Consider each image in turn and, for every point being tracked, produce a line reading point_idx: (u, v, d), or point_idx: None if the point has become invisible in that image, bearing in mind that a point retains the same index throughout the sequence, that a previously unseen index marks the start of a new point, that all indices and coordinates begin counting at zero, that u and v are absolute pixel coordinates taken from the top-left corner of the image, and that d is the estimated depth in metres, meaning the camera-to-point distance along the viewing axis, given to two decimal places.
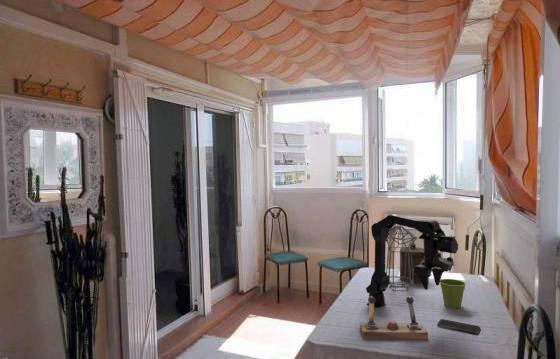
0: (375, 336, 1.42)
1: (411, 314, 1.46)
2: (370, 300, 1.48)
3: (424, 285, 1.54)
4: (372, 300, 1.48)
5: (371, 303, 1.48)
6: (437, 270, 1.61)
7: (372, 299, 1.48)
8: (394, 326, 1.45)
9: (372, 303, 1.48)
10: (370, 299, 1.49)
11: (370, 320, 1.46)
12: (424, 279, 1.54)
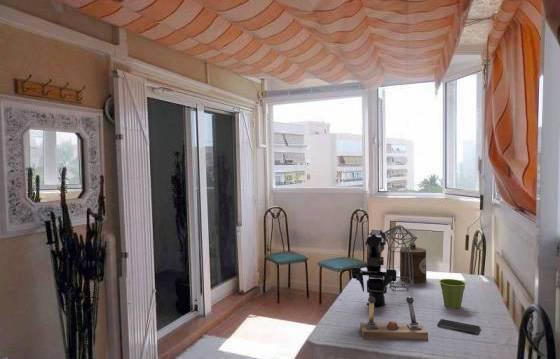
0: (375, 336, 1.42)
1: (411, 314, 1.46)
2: (370, 300, 1.48)
3: None
4: (372, 300, 1.48)
5: (371, 303, 1.48)
6: None
7: (372, 299, 1.48)
8: (394, 326, 1.45)
9: (372, 303, 1.48)
10: (370, 299, 1.49)
11: (370, 320, 1.46)
12: (361, 281, 1.60)
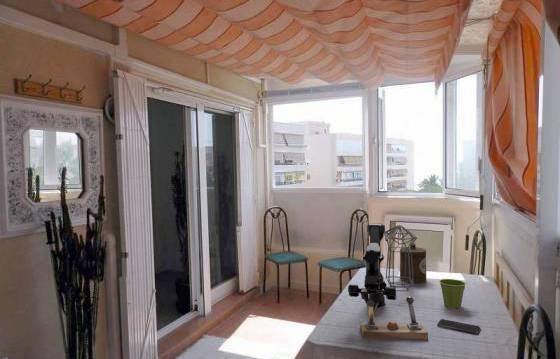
0: (375, 336, 1.42)
1: (411, 314, 1.46)
2: (369, 305, 1.44)
3: (367, 307, 1.48)
4: (371, 305, 1.44)
5: (370, 307, 1.44)
6: None
7: (371, 304, 1.44)
8: (394, 326, 1.45)
9: (371, 307, 1.44)
10: (369, 304, 1.44)
11: (370, 322, 1.46)
12: (366, 301, 1.50)
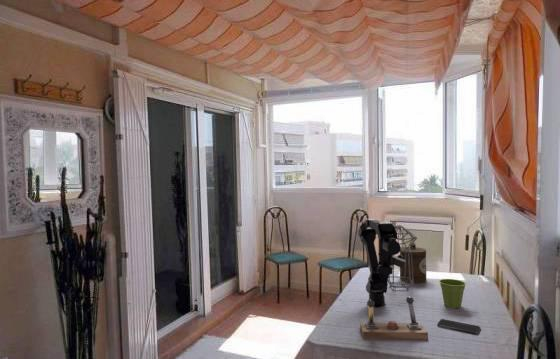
0: (375, 336, 1.42)
1: (411, 314, 1.46)
2: (369, 305, 1.44)
3: (384, 281, 1.66)
4: (371, 305, 1.43)
5: (370, 307, 1.44)
6: None
7: (371, 305, 1.43)
8: (394, 326, 1.45)
9: (371, 307, 1.44)
10: (369, 305, 1.44)
11: (370, 322, 1.46)
12: (385, 276, 1.66)
